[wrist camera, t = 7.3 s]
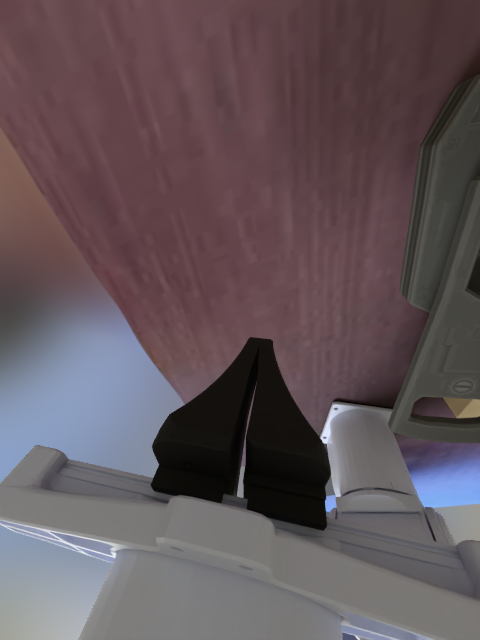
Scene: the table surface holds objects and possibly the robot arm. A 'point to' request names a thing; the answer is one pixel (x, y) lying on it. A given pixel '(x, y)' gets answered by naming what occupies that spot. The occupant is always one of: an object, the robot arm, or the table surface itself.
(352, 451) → the robot arm
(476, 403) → the cream rectangular bar
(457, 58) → the table surface
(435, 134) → the zipper pull
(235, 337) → the table surface
